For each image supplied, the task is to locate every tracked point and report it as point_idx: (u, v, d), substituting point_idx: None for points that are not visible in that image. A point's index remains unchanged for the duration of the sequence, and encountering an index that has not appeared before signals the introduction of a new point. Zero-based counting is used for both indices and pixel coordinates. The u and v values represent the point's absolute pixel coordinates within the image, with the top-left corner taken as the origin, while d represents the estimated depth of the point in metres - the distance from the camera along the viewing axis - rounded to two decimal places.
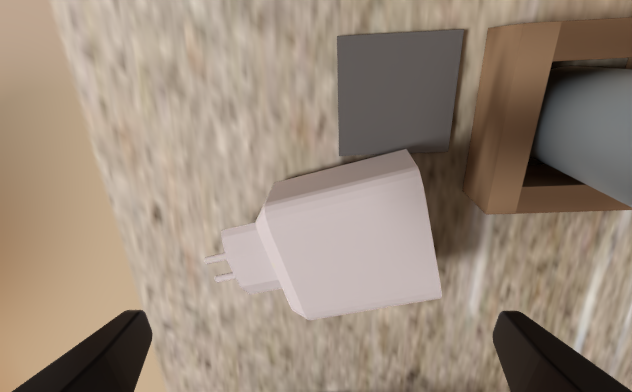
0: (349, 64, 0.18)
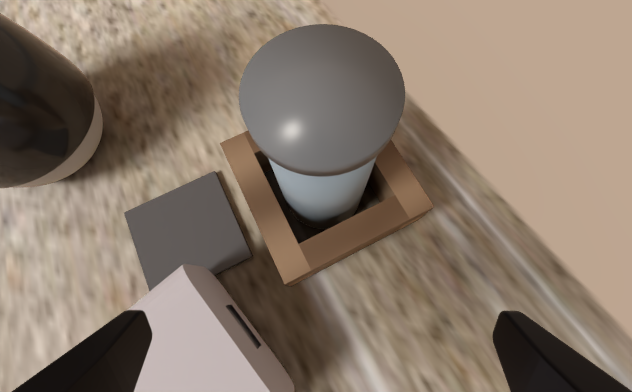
0: (139, 226, 0.22)
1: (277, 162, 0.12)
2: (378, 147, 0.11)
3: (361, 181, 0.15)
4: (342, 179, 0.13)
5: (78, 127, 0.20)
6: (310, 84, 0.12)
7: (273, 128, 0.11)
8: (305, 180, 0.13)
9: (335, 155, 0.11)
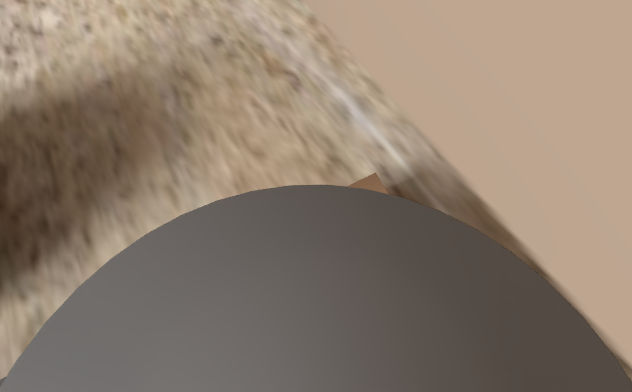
0: None
1: None
2: None
3: None
4: None
5: None
6: None
7: None
8: None
9: None
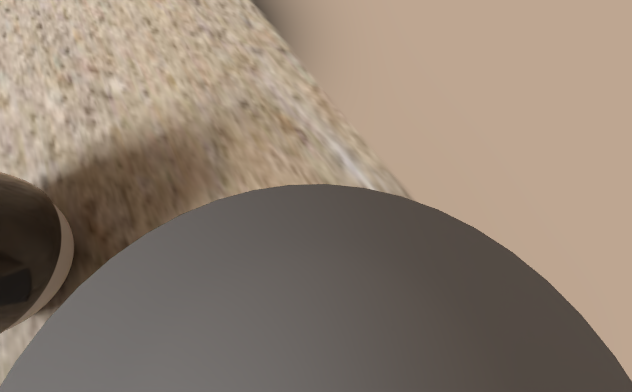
0: None
1: None
2: None
3: None
4: None
5: (39, 277, 0.18)
6: None
7: None
8: None
9: None
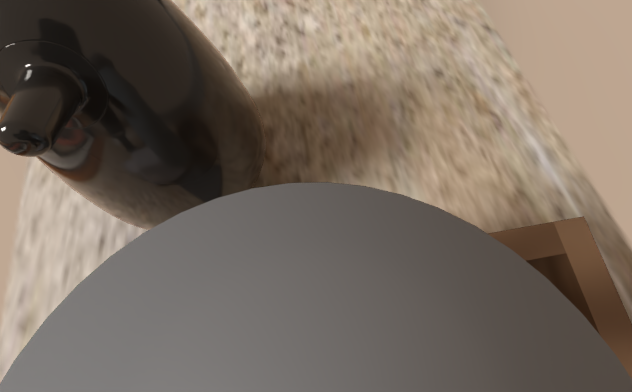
0: None
1: None
2: None
3: None
4: None
5: (247, 184, 0.17)
6: None
7: None
8: None
9: None
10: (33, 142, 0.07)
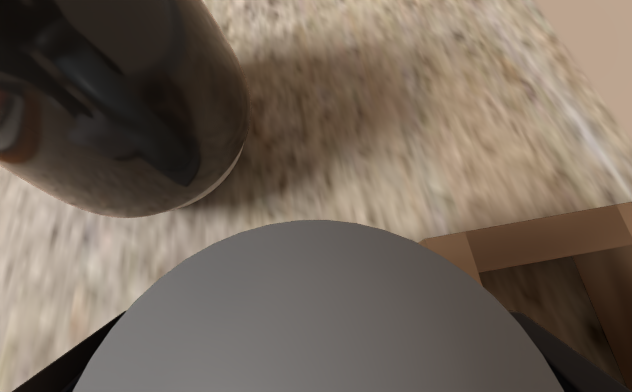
0: None
1: None
2: None
3: None
4: None
5: (226, 157, 0.14)
6: None
7: None
8: None
9: None
10: None
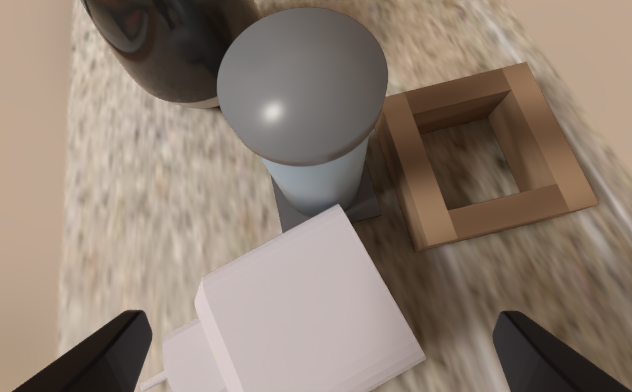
0: None
1: (261, 155, 0.11)
2: (363, 131, 0.11)
3: (354, 168, 0.15)
4: (332, 167, 0.13)
5: None
6: (289, 71, 0.12)
7: (253, 120, 0.11)
8: (294, 171, 0.13)
9: (318, 143, 0.11)
10: None
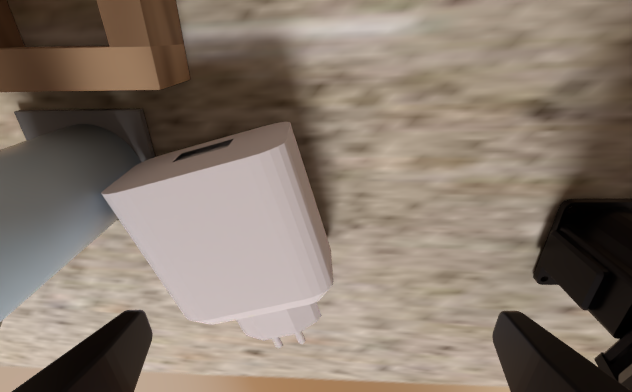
0: None
1: None
2: None
3: (11, 210, 0.11)
4: None
5: None
6: None
7: None
8: (2, 306, 0.11)
9: None
10: None
